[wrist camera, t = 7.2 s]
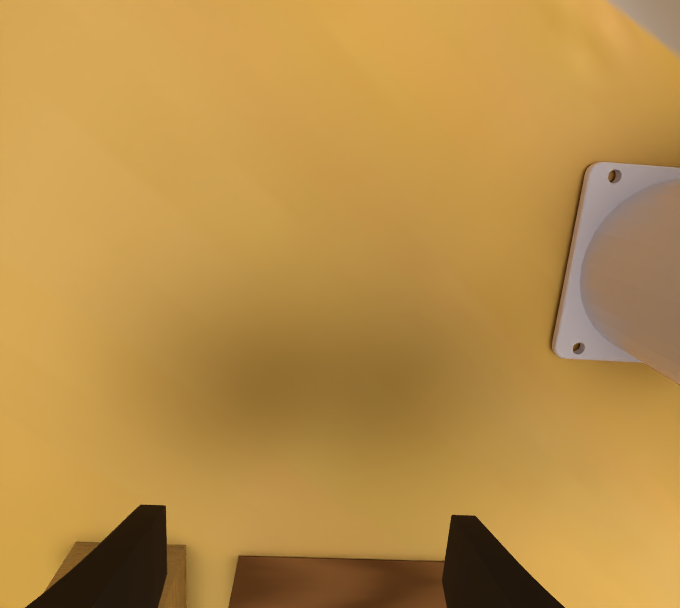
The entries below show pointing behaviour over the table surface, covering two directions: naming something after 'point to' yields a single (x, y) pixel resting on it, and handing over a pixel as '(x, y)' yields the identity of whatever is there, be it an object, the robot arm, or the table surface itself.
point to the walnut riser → (336, 583)
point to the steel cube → (175, 584)
